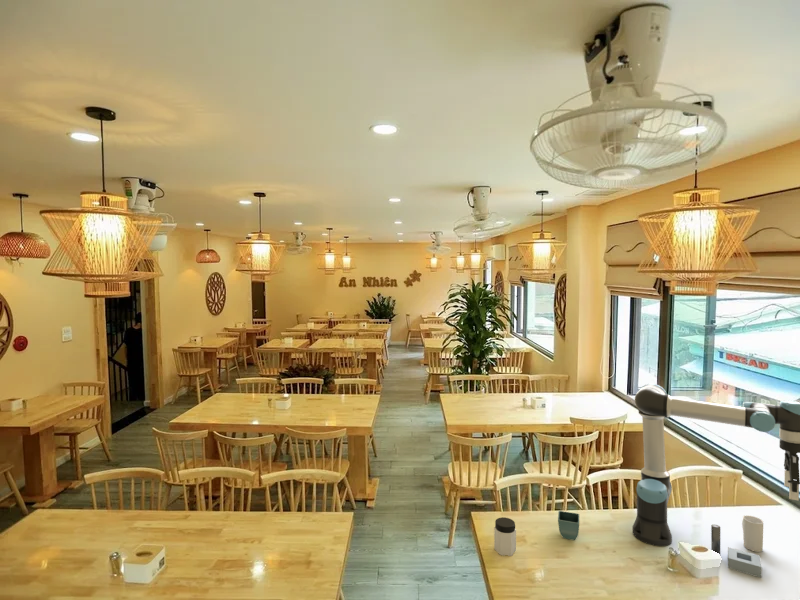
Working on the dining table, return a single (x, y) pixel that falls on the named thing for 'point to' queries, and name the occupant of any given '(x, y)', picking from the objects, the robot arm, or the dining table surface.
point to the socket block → (744, 562)
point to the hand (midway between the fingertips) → (791, 493)
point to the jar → (505, 536)
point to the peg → (715, 538)
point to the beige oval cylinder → (753, 533)
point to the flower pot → (568, 524)
